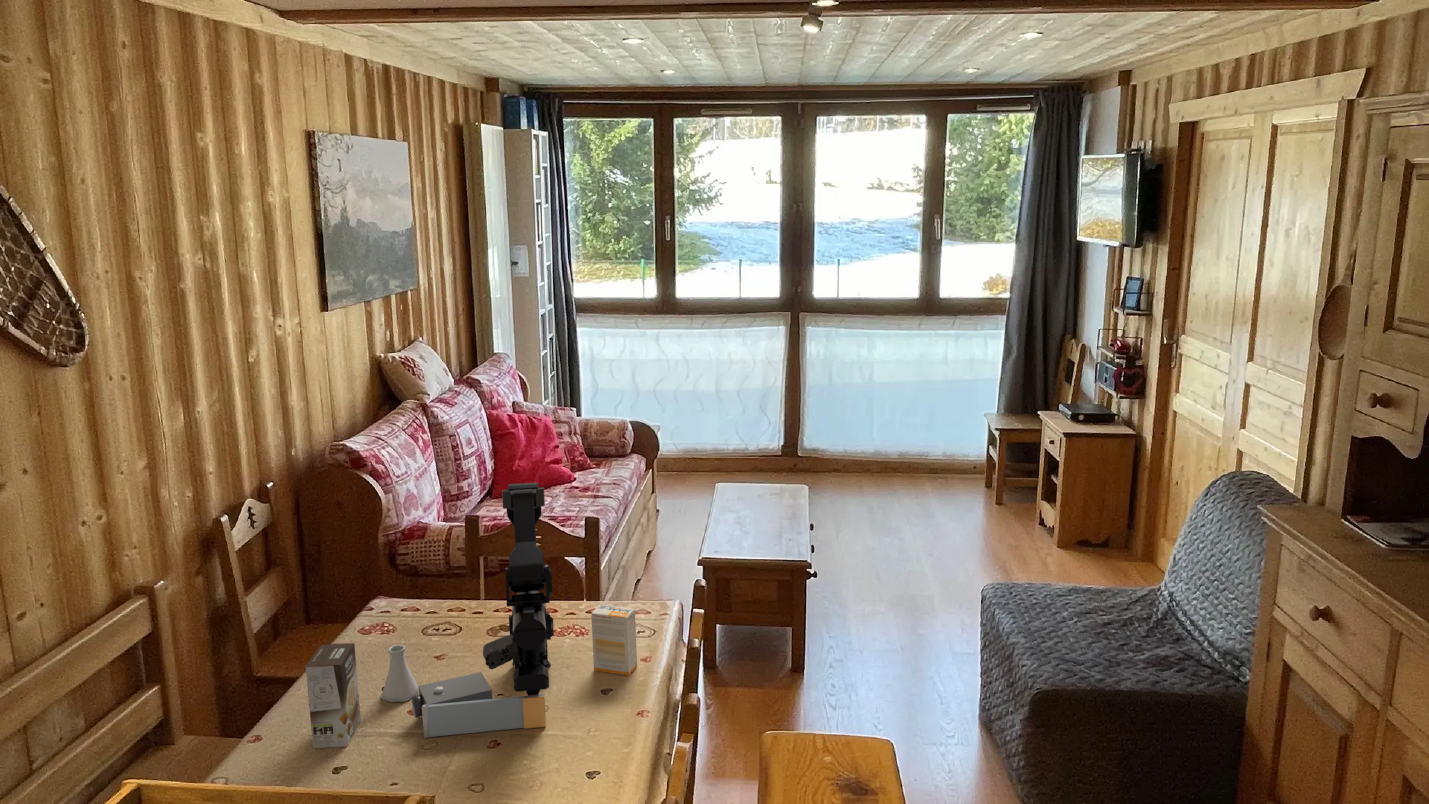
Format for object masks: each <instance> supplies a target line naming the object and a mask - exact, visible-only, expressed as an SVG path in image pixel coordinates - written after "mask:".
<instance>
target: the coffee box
mask: <svg viewBox="0 0 1429 804" xmlns="http://www.w3.org/2000/svg"><path fill="white" fill-rule="evenodd" d="M357 669H358V668H357V659H356V648H355V643H353V642H350V643H349V642H348V643H331V644H321V645H320V646H319V647H318V649H317V650H316V651H315V653H314V654H313V655H312V656H311V657H310V659H309V661H308V662H307V663H306V665H305V674H306V676H305V677H306V686H307V695H308V708H309V717H310V727H311V738H312V748H313V749H322V748H325V749H326V748H342V747H348V746H349V744H350V742H351V740H352V739H353V736H354V735H355V733H356V731H357V729H358V727H359V726H360V724H361V721H362V719H361V706H360V694H359V693H360V692H359V682H358V671H357Z"/></svg>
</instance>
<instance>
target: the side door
mask: <svg viewBox="0 0 1429 804" xmlns="http://www.w3.org/2000/svg"><path fill="white" fill-rule="evenodd" d="M545 696H546V695H545V693H543V694H542V693H539V694H538V695H527V694H526V695H518V696H517V695H516V696H507V697H497V698H492V699H485V700H474V701H464V702H453V703H442V704H432V705H423V706H422V717H423V719H422V729H423V737H424V738H425V739H427V738H428V739H429V738H433V737H442V736H452V735H461V734H463V735H464V734H470V733H471V734H473V733H480V732H481V733H482V732H493V731H502V730H503V731H504V730H513V729H522V728H523V729H533V728H534V729H535V728H543V727H547V721H546V719H547V718H546V717H547V716H546V699H545ZM422 717H421V718H422Z"/></svg>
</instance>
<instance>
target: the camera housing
mask: <svg viewBox="0 0 1429 804" xmlns="http://www.w3.org/2000/svg"><path fill="white" fill-rule="evenodd" d="M418 686H419V691H418V694H417V695H416V696H412V698H411V705H412V706H411V708H412V713H413V717H414V718H415V719H417V718H422V720H423V717H422V706H423V705H432V704H442V703H453V702H464V701H474V700H485V699H493V689H492V687H491V686H490V684H489V682H488V681H487V679H486V678H485V676H484V674H483V673H482V671H478V672H476V673H475V672H474V673H470V674H466V675H461V676H456V677H453V678H448V679H444V680H439V681H434V682H430V683H426V684H421V685H418Z"/></svg>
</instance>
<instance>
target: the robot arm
mask: <svg viewBox="0 0 1429 804" xmlns="http://www.w3.org/2000/svg"><path fill="white" fill-rule="evenodd" d="M501 494H502V497H501V498H502V509H504V510H505V509H506V518H507V519H508V520H509V522H510V523H511V524H512V526H513V527H514V547H513V550H511V552H510V554H508V567H505V571H504V572H505V593H506V595H505V596H506V607H507V608H508V607H511V614H510V615H508V624H509V625H508V627H509V635H506V636H502V637H500V638H498V639H494V640H492V641H490V642H488V643H486V644H484V645H483V646H482V656H483V658H484V660H485V663H484V664H485V666H487V667H488V669H489V670H495V669H497V668H498V667H501V666H503V665H505V664H506V663H509V662H511V661H512V664H513V665H514V669H515V670H514V671H513V691H514V692H516V693H519V692H525V693H526V696H527V695H538V694H540V692H541V691H542V690H547V689H549V688H550V676H549V668H550V667H551V666H552V664H551V663H550V661H549V656H548V641H551V640H552V639H551V638H553V637H554V634H555V632H554V618H553V617H552V615H551V614H550V611H547V605H546V604H550V602H551V601H550V599H551V598H550V596H553V594H554V593H553V578H552V577H553V576H552V569H550V568H549V567H550V566H549V565H548V564H544V563H545V562H544V553H543V551H541V549H540V548H539V547H538V546H537V538H536V537H537V534H536V525H537V523H538V522H539V520H540V518H541V516H542V512H543V511H542V507H545V506H546V504H545V502H546V501H545V499H546V498H545V487H541V486H539V484H538V482H527V483H512V484H511V483H510V484H508V486H507V488H506V489H503V490H502V491H501ZM544 589H545V592H540V591H543V590H544ZM510 592H512V593H514V594H512V595H510ZM515 593H517V594H515ZM545 594H546V595H545ZM510 596H511V597H510Z"/></svg>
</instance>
